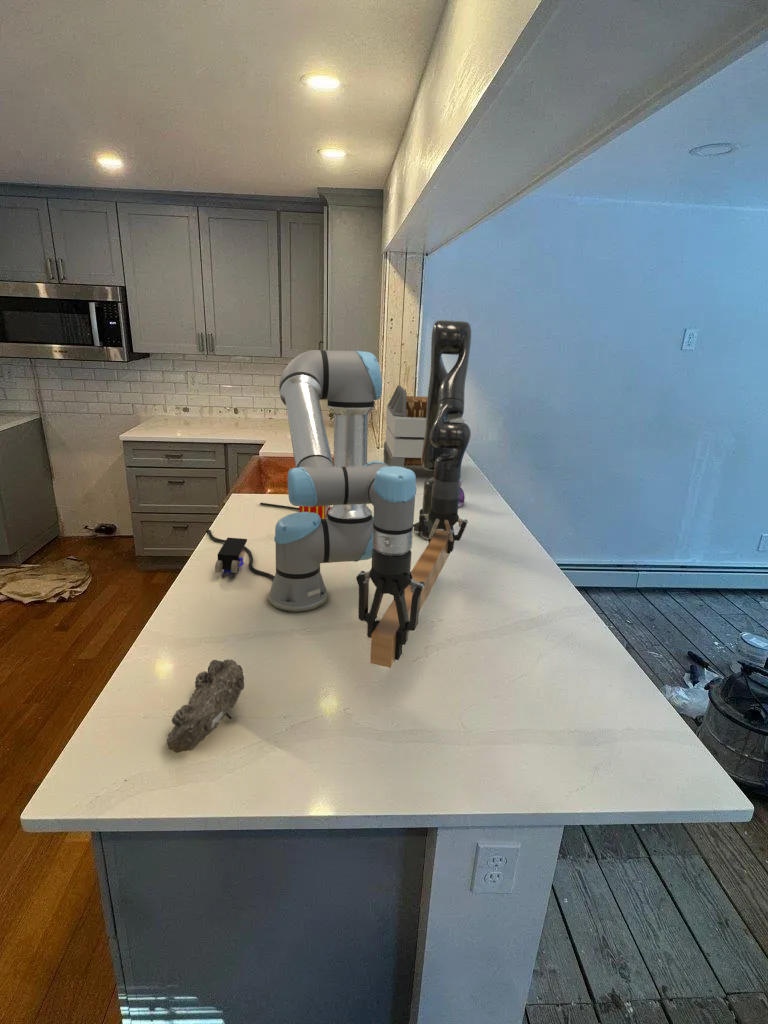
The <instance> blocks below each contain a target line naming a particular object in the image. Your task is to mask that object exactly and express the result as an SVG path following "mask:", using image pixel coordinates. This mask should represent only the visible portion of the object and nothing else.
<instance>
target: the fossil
mask: <svg viewBox="0 0 768 1024" xmlns="http://www.w3.org/2000/svg"><path fill="white" fill-rule="evenodd" d="M243 670H244V669H243V667H242V665H240V664H237V662H236V661H235V660H234V659H232V658H231V659H227V658H226V659H224V660H223V661H222V660H217V659H212V660H211V661H210V663H209V665H208V666H207V671H201V672H199V673H198V674H197V675H196V676H195V680H194V684H195V685H194V687H195V689H194V690H193V693H192V694H191V697H190V698H189V700H188V704H184V705H182V706H181V707H180V709H177V710H176V711H175V713H174V715H173V716H172V718H171V723H172V724H173V727H172V730H171V731H170V732H168V734H167V738H166V741H167V742H166V745H167V749H168V750H169V751H173V752H174V753H176V754H178V753H182V752H188V751H189V752H192V751H193V750H195V748H196V747H197V746H199V744H200V743H201V742H203V741H204V740H205V739H206V738H207V737H208V736H209V735H210V734H211V733H212V732H214V730H215V729H217V727H218V726H219V724H220V722H221V721H222V720H223V719H224V718H225V716H226V717H227V719H229V720H233V717H232V715H230V714H229V710H230V709H231V708H234V706H235V704H236V703H237V702H238V699H239V697H240V695H241V693H242V691H243V690H245V689H244V688H245V675H244V671H243Z"/></svg>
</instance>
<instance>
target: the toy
mask: <svg viewBox="0 0 768 1024" xmlns="http://www.w3.org/2000/svg"><path fill="white" fill-rule="evenodd" d="M298 508H299V510H298V512H309V513H311V512H313V513H316V514H318V515H319V516H320V518H321V519H326V517H327V515H326V514H328V511H329V510H330V509H331V505H327V506H314V507H309V506H298Z"/></svg>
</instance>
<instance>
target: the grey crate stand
mask: <svg viewBox="0 0 768 1024" xmlns="http://www.w3.org/2000/svg"><path fill="white" fill-rule="evenodd" d="M407 394H408V393H407V390H406V389H404V388H403V387H402V385H399V384H398V385H397V386H396V388H395V390H394V392H393V394H392V395H391V398H390V400H389V402H388V404H387V405H386V413H385V414H386V415H385V423H386V428H385V438H384V442H383V463H385V464H387V465H388V466H398V467H404V468H405V466H406V467H407V466H411V467H412V466H413V467H415V466H416V467H417V466H418V467H422V462H421V457H422V449H423V442H424V436H425V428H426V412H427V398H428V396H415V395H414V396H413V395H412V396H411V395H407ZM450 422H459V423H465V419H464V418H463V415H462V416H461V417H460V418H458V419H455V420H451V421H450ZM461 472H462V469H461V470H460V475H461Z"/></svg>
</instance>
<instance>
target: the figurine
mask: <svg viewBox="0 0 768 1024" xmlns="http://www.w3.org/2000/svg"><path fill="white" fill-rule="evenodd" d="M461 486H462V481H461V479H460V495H459V503H458V508H461V507H463V505H464V503H465V498H466V496H465V492H464V490H463V489H462V487H461Z"/></svg>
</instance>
